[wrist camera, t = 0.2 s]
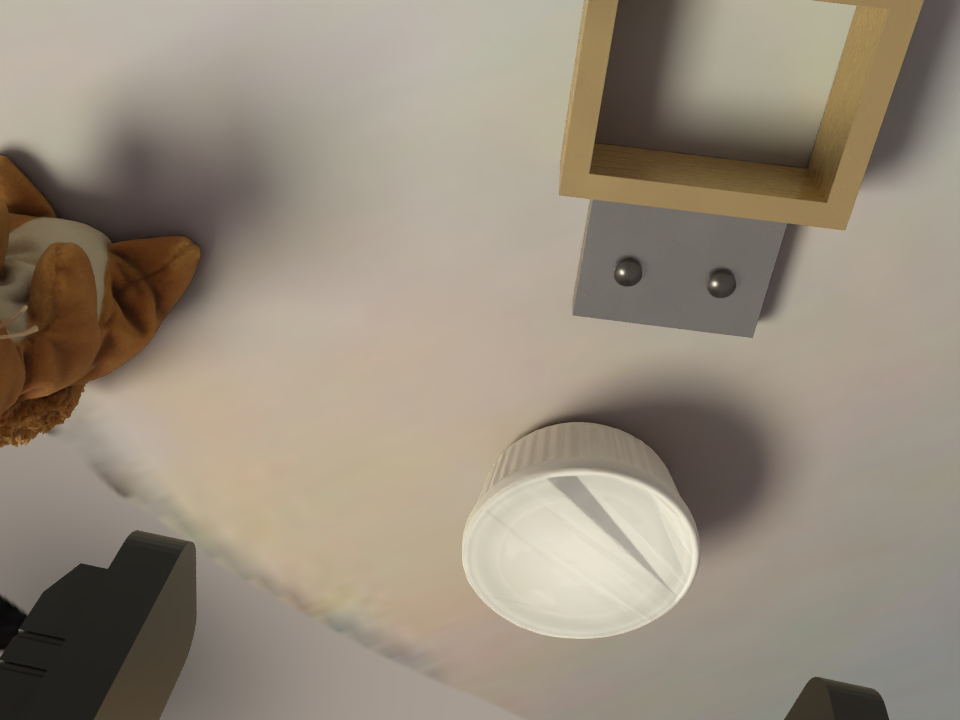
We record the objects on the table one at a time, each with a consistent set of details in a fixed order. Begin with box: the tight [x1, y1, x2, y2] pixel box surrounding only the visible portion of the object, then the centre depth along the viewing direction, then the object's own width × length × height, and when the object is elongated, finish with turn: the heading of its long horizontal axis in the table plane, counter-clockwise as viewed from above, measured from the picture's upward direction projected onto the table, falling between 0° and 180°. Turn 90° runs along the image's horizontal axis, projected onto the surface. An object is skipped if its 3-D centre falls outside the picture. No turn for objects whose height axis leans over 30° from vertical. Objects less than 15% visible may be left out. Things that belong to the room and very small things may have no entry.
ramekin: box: [462, 422, 700, 639], centre depth 46 cm, size 11×11×5 cm
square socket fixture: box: [559, 0, 924, 338], centre depth 34 cm, size 22×11×4 cm, turn 175°
